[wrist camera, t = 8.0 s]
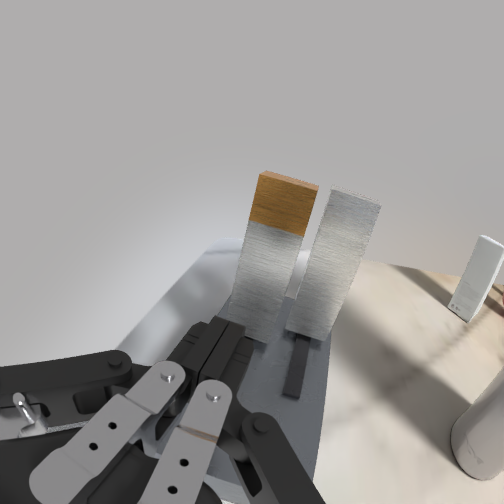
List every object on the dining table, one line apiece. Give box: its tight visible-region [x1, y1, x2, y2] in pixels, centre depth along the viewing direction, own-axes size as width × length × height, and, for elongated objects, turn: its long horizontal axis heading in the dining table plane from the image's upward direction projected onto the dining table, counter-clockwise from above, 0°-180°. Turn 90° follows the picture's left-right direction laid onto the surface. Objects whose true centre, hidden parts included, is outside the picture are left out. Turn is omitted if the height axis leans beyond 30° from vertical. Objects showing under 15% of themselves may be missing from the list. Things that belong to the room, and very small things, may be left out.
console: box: [154, 294, 331, 504], centre depth 22 cm, size 20×10×4 cm, turn 164°
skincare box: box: [447, 235, 504, 323], centre depth 41 cm, size 8×6×15 cm
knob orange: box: [226, 171, 319, 344], centre depth 20 cm, size 2×4×12 cm, turn 74°
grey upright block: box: [285, 185, 381, 341], centre depth 22 cm, size 2×4×12 cm, turn 74°
